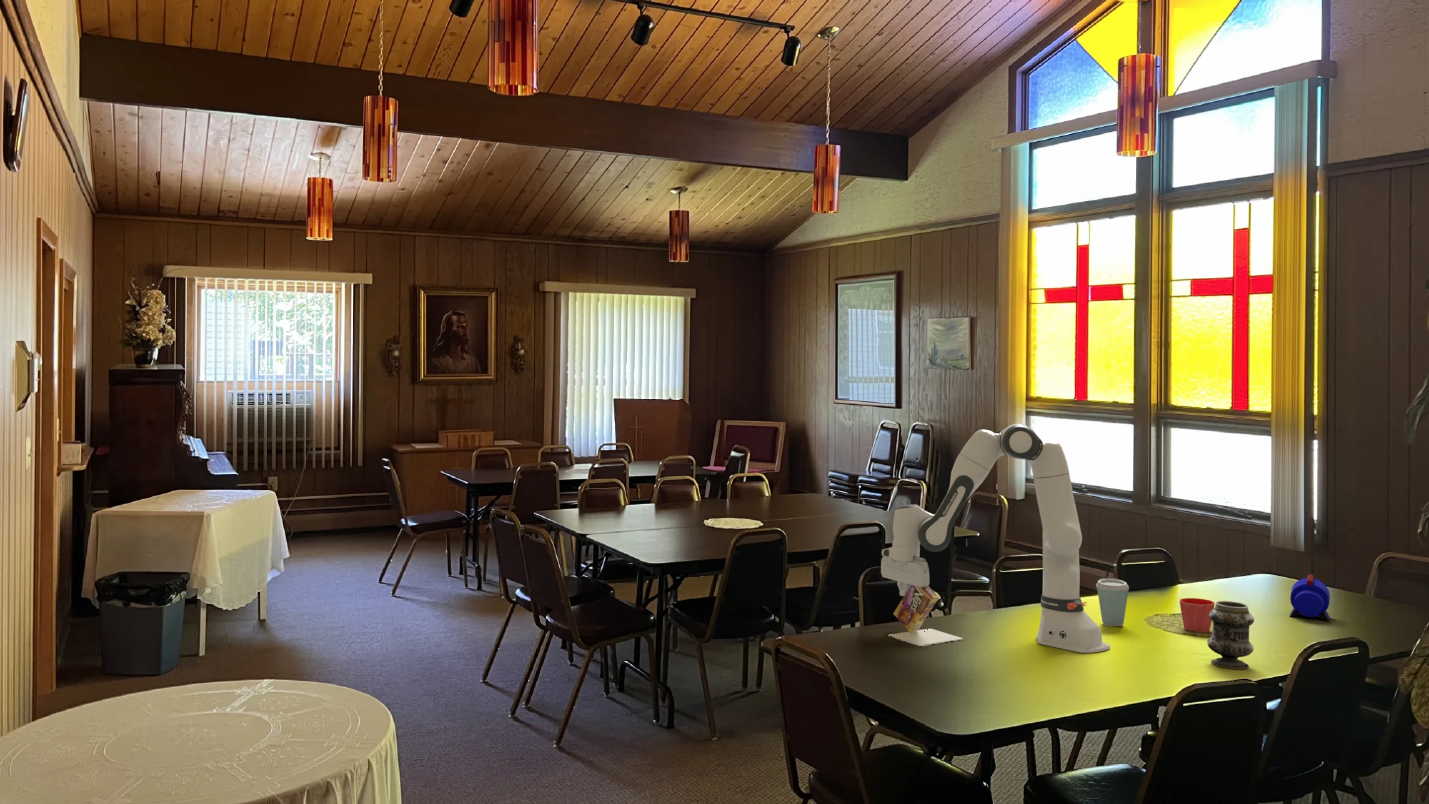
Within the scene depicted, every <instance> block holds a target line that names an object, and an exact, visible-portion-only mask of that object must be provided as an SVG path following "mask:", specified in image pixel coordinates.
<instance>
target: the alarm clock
mask: <svg viewBox="0 0 1429 804" xmlns="http://www.w3.org/2000/svg"><path fill="white" fill-rule="evenodd" d="M1330 598H1331V595H1330V590H1329V588H1328V587H1327V586H1326V584H1324V582H1322V581H1320V580H1318V579H1316V578H1315V576H1314V574H1311V573H1309V574H1308V575H1307V577H1305V578H1302V579H1299V580H1297V581H1295V583H1294V584H1293V586H1292V587H1291V592H1290V598H1289V599H1290V604H1291V606H1292V608H1293V609H1292V610H1291V611H1290V614H1289V618H1291V617H1295V616H1300V615H1302V616H1304V617H1307V618H1314V617H1319V618H1320V619H1323V620H1324V621H1326V622H1328V623H1329V622H1330V617H1331V616H1330V614H1329V613H1328V612H1327V610H1328V608H1329V606H1330V601H1331V600H1330Z"/></svg>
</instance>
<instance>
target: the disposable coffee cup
mask: <svg viewBox="0 0 1429 804" xmlns="http://www.w3.org/2000/svg"><path fill="white" fill-rule="evenodd" d="M1095 588H1096V591H1097V595H1098V602H1099V610H1100V615H1101V621H1102V624H1103V626H1106V625H1107V626H1106V627H1110V626H1121V627H1123V625H1124V623H1125V618H1126V617H1125V615H1126V609H1127V601H1128V596H1129V589H1130V587H1129V585H1128V584H1127V582H1126V581H1124V580H1121V579H1118V578H1101V579H1099V580H1097V583H1096V584H1095Z"/></svg>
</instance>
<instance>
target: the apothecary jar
mask: <svg viewBox="0 0 1429 804" xmlns="http://www.w3.org/2000/svg"><path fill="white" fill-rule="evenodd" d="M1209 618H1210V619H1211V620H1212V623H1213V624H1212V635H1211V636H1210V637H1209V638H1208V639H1207V647H1208V648H1209V649H1210V650H1211V651H1212V652H1214V653H1216V654H1217V655H1220V656H1221V657H1218V658H1215V659H1212V660H1211V661H1210V663H1211V664H1212V665H1214V666H1216V667H1220V668H1224V669H1228V670H1229V669H1230V670H1231V669H1232V670H1246V669H1248V668H1249V667H1250V665H1249V664H1248V663H1246V662H1245V661H1244V660H1240V659H1239V658H1242V657H1243V658H1244V657H1247V656H1250V655H1251V654H1252V653H1253V652H1254V649H1255V648H1254V645H1253V644H1252V642H1251V641H1250V626H1252V625H1253V624H1254V622H1255V618H1254V615H1253V614H1252V613H1251V612H1250V610H1249V606H1248V604H1246V603H1243V602H1237V601H1233V600H1232V601H1230V600H1218V601H1216V602H1215V605H1214V609H1212V610H1211V611H1210V612H1209Z"/></svg>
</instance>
